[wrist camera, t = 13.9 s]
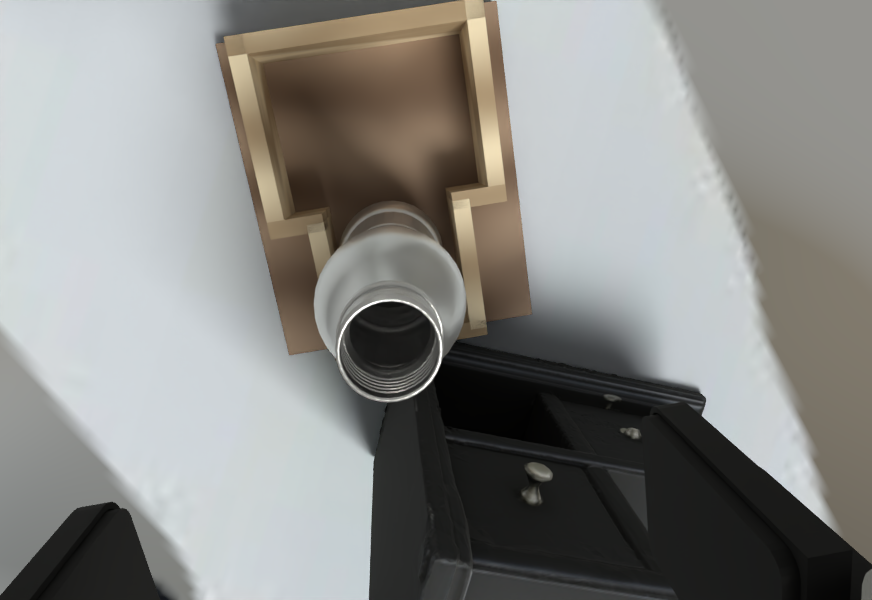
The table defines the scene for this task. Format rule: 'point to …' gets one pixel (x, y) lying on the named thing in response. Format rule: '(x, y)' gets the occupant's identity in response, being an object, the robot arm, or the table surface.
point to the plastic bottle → (390, 302)
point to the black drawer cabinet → (516, 484)
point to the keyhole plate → (380, 147)
